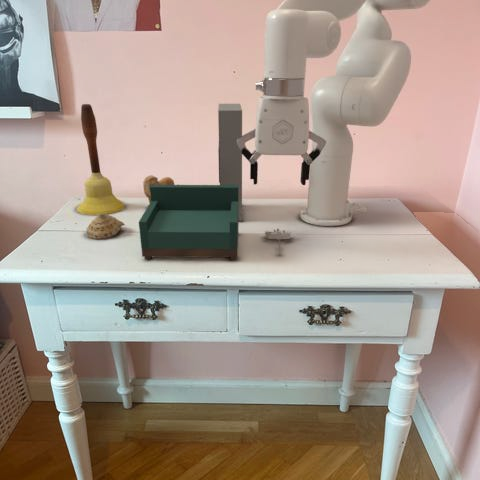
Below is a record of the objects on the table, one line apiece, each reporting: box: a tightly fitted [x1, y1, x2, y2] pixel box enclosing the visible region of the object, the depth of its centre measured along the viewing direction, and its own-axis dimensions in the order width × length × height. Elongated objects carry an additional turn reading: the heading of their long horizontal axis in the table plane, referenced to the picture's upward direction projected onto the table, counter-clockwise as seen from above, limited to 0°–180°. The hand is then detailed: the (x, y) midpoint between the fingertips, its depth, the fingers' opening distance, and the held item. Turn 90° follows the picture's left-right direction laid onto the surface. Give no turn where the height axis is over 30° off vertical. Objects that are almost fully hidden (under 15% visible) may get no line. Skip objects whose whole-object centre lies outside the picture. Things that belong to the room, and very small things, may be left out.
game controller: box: [264, 228, 292, 251], centre depth 103 cm, size 6×12×3 cm, turn 16°
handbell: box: [76, 103, 126, 216], centre depth 120 cm, size 12×12×25 cm
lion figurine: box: [142, 175, 175, 204], centre depth 126 cm, size 15×5×9 cm, turn 162°
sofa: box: [138, 184, 240, 261], centre depth 100 cm, size 19×16×11 cm
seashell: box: [85, 214, 126, 240], centre depth 109 cm, size 8×6×8 cm
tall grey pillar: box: [217, 103, 243, 222], centre depth 116 cm, size 14×6×25 cm, turn 2°
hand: (279, 183), depth 96 cm, fingers open, 9 cm apart
